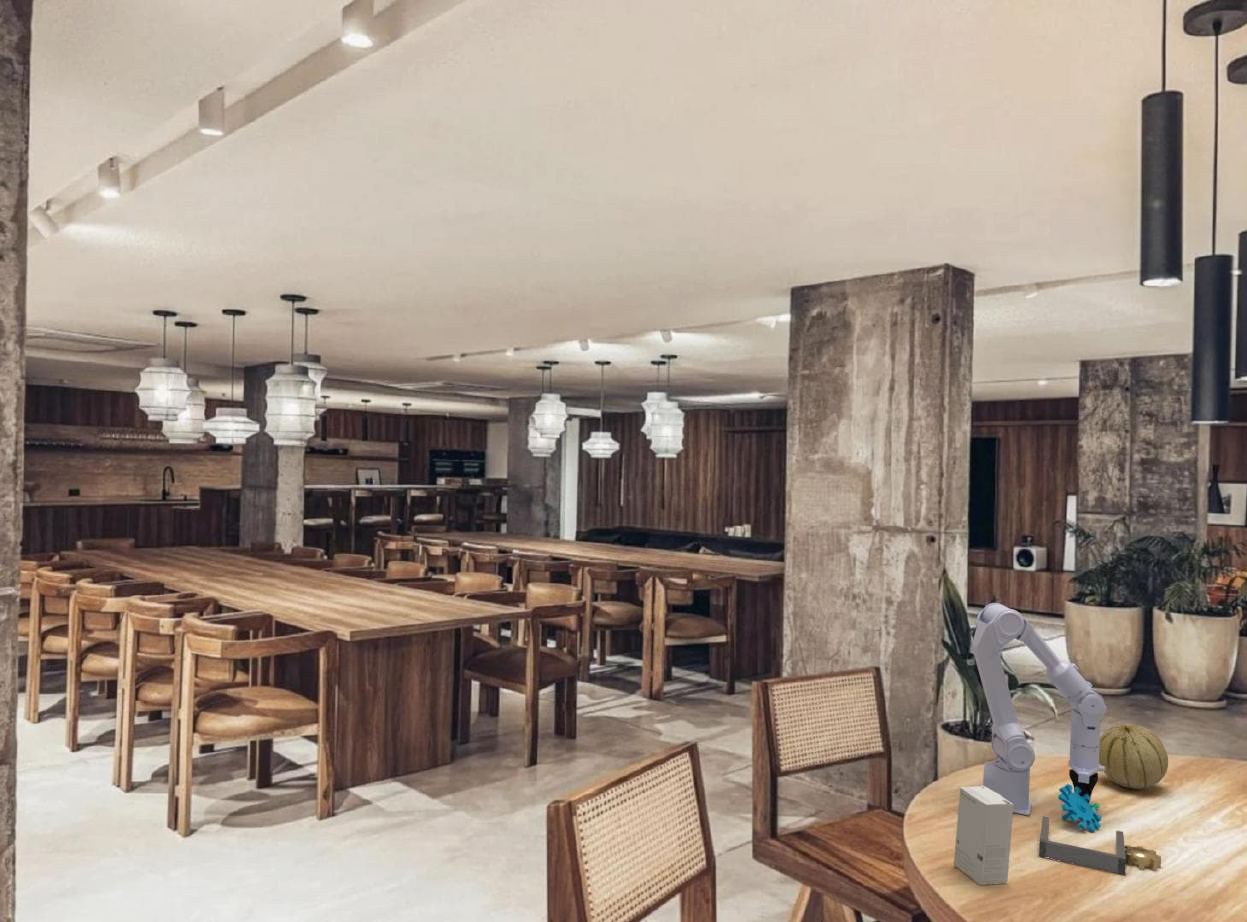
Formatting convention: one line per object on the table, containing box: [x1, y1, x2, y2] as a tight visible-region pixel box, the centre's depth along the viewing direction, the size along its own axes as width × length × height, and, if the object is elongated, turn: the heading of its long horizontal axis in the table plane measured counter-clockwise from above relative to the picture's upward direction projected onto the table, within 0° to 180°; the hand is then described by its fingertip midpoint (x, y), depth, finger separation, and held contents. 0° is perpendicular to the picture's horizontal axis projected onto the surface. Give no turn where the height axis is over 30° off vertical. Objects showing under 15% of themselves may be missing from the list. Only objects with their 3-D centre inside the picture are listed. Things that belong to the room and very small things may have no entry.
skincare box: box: [953, 785, 1014, 886], centre depth 162 cm, size 8×6×15 cm
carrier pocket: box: [1038, 815, 1162, 876], centre depth 172 cm, size 20×14×3 cm
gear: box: [1057, 783, 1103, 833], centre depth 187 cm, size 11×6×10 cm
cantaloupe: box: [1099, 723, 1169, 790], centre depth 211 cm, size 15×15×15 cm
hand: (1082, 806), depth 194 cm, fingers closed
